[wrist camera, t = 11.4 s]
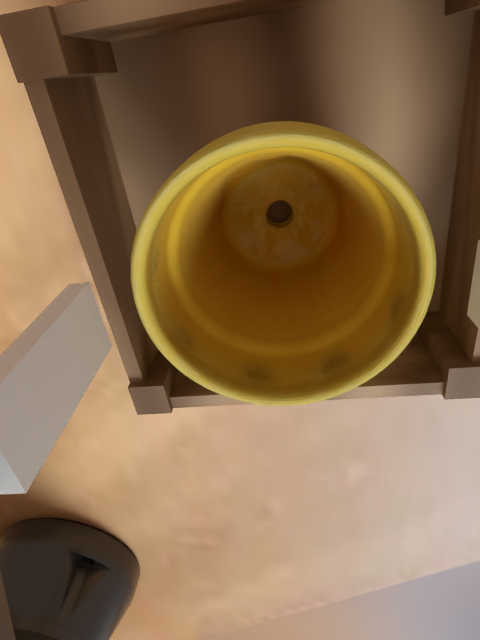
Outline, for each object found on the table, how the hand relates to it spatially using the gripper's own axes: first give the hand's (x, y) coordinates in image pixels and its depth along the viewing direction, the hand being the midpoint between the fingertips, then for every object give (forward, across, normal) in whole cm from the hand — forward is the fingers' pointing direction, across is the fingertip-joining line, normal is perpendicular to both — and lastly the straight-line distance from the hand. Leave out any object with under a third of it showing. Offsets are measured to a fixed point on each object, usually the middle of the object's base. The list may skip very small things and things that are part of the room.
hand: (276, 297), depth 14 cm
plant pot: (+10, 0, 0) cm, 10 cm away
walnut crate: (+10, +1, 0) cm, 10 cm away
